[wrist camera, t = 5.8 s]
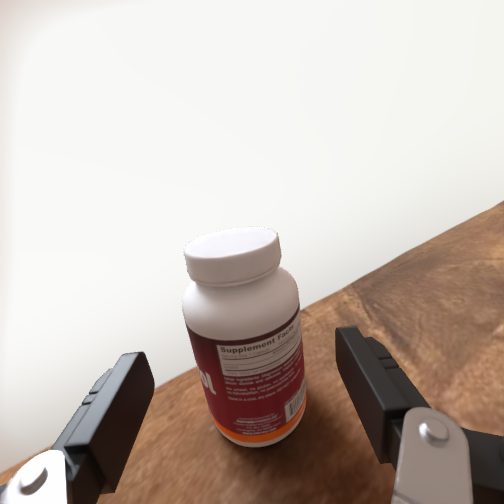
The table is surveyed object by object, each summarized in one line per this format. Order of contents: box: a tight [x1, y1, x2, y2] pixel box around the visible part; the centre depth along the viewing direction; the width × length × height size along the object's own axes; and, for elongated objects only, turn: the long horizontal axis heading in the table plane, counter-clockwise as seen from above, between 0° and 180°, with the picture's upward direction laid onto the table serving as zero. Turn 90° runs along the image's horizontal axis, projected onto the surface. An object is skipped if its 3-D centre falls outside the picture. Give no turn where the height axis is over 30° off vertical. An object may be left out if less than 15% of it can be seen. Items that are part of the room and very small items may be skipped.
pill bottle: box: [182, 227, 306, 447], centre depth 14 cm, size 6×6×11 cm
